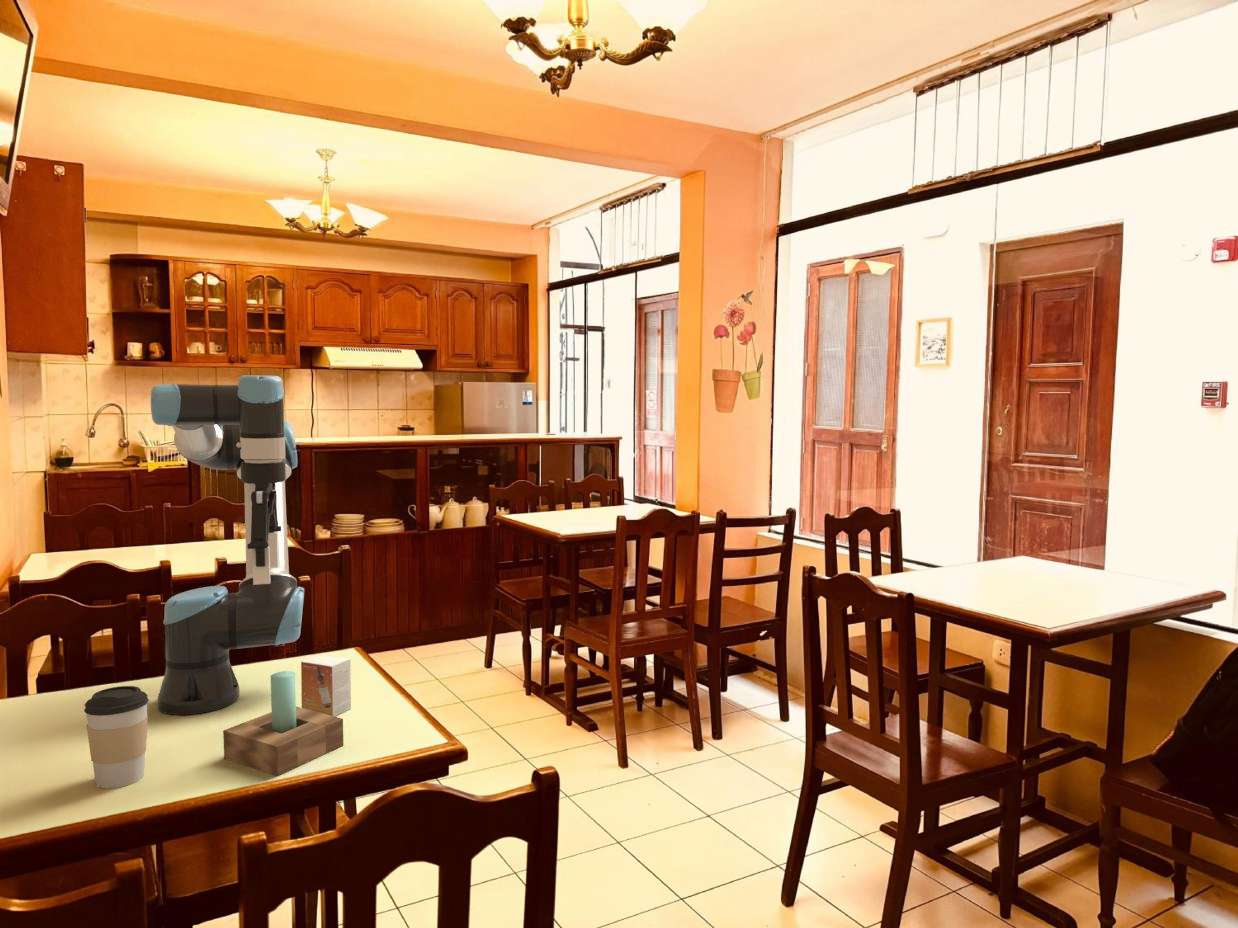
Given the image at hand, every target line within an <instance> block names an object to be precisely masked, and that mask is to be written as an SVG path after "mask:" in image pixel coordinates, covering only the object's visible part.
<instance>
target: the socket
mask: <svg viewBox="0 0 1238 928" xmlns="http://www.w3.org/2000/svg"><path fill="white" fill-rule="evenodd" d="M222 732H223V733H222V734H223V758H224V760H225V759H226V760H229V761H231V762H234V763H238V764H240V765H244V766H246V767H247V766H248V767H250V768H253V769H256V770H258V771H259V770H260V771H261V772H262V771H263V772H265V773H268V774H271V775H274V776H277V777H279V776H281V775H284V774H285V773H288V772H289V771H292V770H294V769H296V768H299V767H300V766H303V765H305V764H307V763H309V762H311V761H313V760H315V759H317V758H320V757H322V756H324V755H326V754H329V753H330V752H333V751H335V750H337V749H339V748H341V747H343V746H344V718H342V717H337V716H335V717H334V716H331V715H327V714H323V713H319V712H315V711H312V710H308V709H304V708H302V707H299V706H296V728H294V729H291V730H289V731H287V732H284V733H282V734H281V733H277V732H274V731H272V711H270V712H268V713H265V714H262V715H260V716H258V717H255V718H252V719H250V720H247V721H244V722H241V723H239V724H237V725H234V726H231V727H227V728H226V729H223V731H222Z"/></svg>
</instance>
